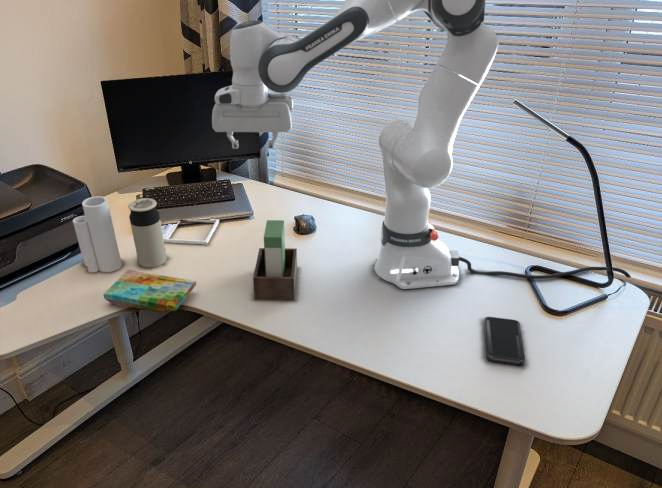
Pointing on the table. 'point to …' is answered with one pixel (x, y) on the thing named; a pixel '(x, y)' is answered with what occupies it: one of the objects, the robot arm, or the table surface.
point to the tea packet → (274, 248)
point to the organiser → (275, 278)
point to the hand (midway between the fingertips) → (253, 147)
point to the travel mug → (147, 232)
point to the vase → (97, 236)
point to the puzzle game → (149, 291)
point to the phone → (503, 341)
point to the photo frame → (168, 231)
